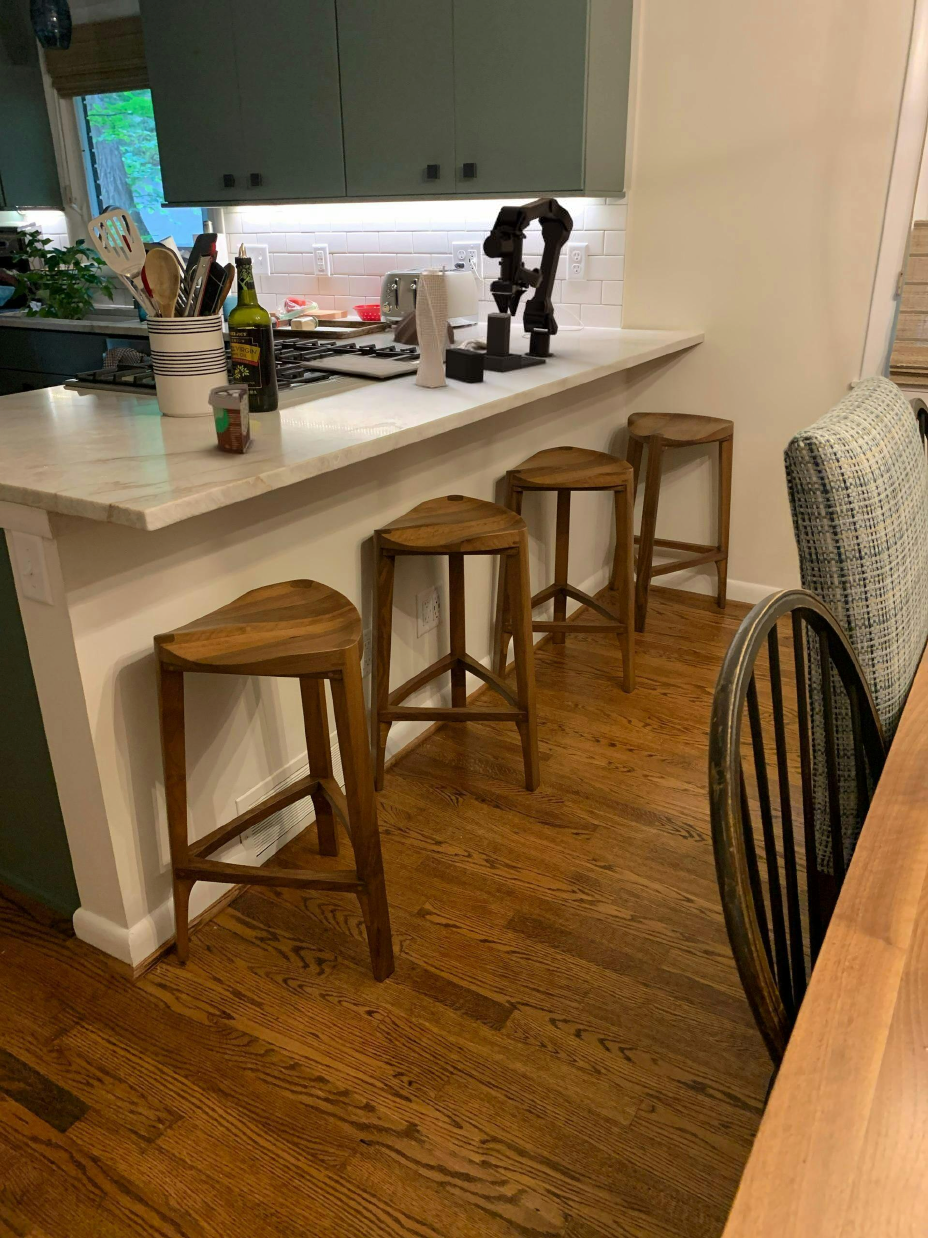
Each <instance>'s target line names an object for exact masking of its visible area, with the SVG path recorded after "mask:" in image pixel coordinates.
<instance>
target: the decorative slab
mask: <svg viewBox="0 0 928 1238" xmlns="http://www.w3.org/2000/svg"><path fill="white" fill-rule="evenodd" d="M299 366H300V367H301V368H304V369H305V368H306V369H314V370H322V371H333V372H340V373H346V374H353V375H362V376H367V377H376V378H380V379H384V378H388V377H392V376H396V375H401V374H406V373H410V372H415V371H418V366H419V363H416V362H415V363H414V362H408V361H407V362H406V361H402V360H401V361H400V360H393V359H384V358H376V357H370V356H369V357H368V356H362V355H356V354H345V355H341V356H331V357H324V358H316V359H315V360H313V361H303V362H300V363H299Z"/></svg>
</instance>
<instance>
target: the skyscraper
mask: <svg viewBox="0 0 928 1238" xmlns="http://www.w3.org/2000/svg"><path fill="white" fill-rule="evenodd" d="M448 299H449V298H448V289H447V281H446V264H445V263H444V262H443V263H442V272H440V269H436V268H426V272H423V269H420V270H419V278H418V284H417V292H416V299H415V310H416V327H417V335H418V342H419V345H418V346H419V351H420V354H419V360H418V364H419V366H418V370H416V371H417V372H416V378H415V385H416V386H421V387H426V388H431V389H432V388H438V387H444V386H445V387H446V386H447V379H446V377H445V366H444V362H443V359H442V353H441V351H442V348H443V344H444V339H445V334H446V329H447V321H449V320H448V319H449V318H448V317H449V301H448Z"/></svg>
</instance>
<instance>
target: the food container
mask: <svg viewBox="0 0 928 1238" xmlns="http://www.w3.org/2000/svg"><path fill="white" fill-rule="evenodd" d="M207 404H208V405H210V406H211V407H212V413H213V419H214V427H215V434H216V441H217V446H218V449H219V450H220V451H222V452H227V453H233V454H245V452H246V450H247V449H248V446H249V445H250V442H251V426H250V406H249V386H248V383H240V384H225V385H220V386H215V387H213V388H211V389H210V392H209V394H208V400H207Z"/></svg>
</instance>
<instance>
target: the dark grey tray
mask: <svg viewBox="0 0 928 1238" xmlns="http://www.w3.org/2000/svg"><path fill="white" fill-rule="evenodd" d="M483 353H484V371H490V372H496V373H505V372H511V371H515V370H521V369H524V368H529V367H533V366H538V365H539V366H540V365H543V364H546V362H547V359H545V358H540V357H539V358H538V357H531V356H524V355H523V354H518V353H512V352H509V356H507V357H502V358H501V357H494V356H487V355H486V351H485V352H483Z"/></svg>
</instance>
